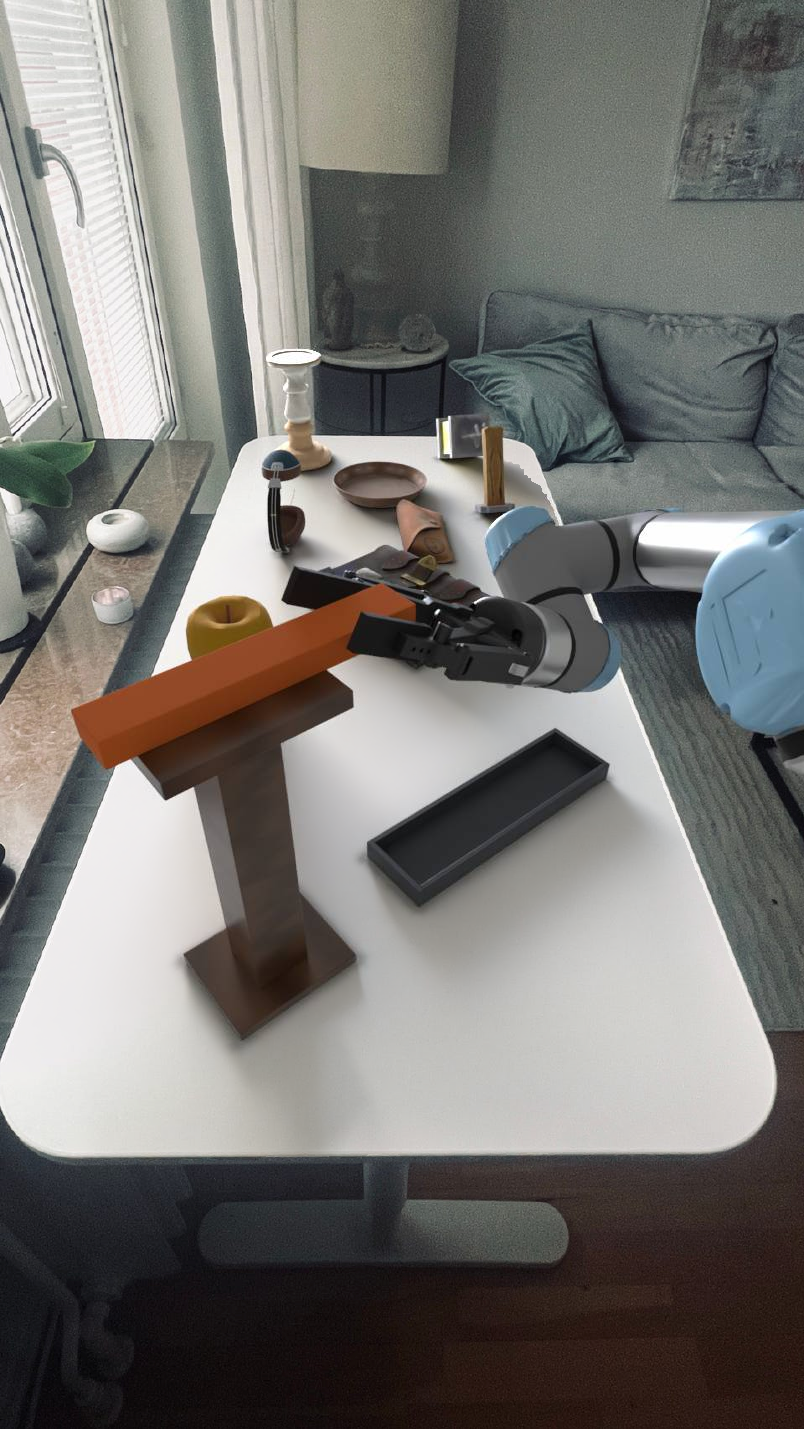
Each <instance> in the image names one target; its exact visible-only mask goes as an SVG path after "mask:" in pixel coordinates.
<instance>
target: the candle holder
mask: <svg viewBox="0 0 804 1429" xmlns="http://www.w3.org/2000/svg"><path fill="white" fill-rule="evenodd" d="M265 361H266V364H267V365H268V366H269V367H271V368H274V369H277V370H281V372H282V373H283V374H284V376H285V378H286V383H285V384H284V385H283V387H282V390H283V391H284V392H285V393H286V403H285V407H284V414H283V415H284V417H285V419H286V420H288V421H287V422H286V424H285V425H284V430H285V431H286V432H287V433H288V441H286V442H283V444H281V445H280V446H279V447H277V448H276V449H274V451H275V450H279V449H283V450H287V451H289V452H291V453H292V454H293V455H294V456H295V457H296V458H297V459H298V460H299V462H300V465H301V472H302V471H311V470H317V469H320V468H323V467H325V466H326V465H328V464H329V463H330V462H331V460H332V451H331V450H330V448H329V447H327V446H325V445H323V444H321V443H320V442H319V441H315V440H313V438H312V432H313V430H314V428H315V425H314V423H313V422H312V421H311V420H310V419H311V417H312V416H313V411H312V408H311V405H310V403H309V397H308V395H307V392H308V391H309V390H310V386H309V384H307V383H306V381H305V376H306V373H307V372H308V371H309V369H310V368H314V367H316V366H319V364H321V362H322V355H321V353H319V352H316V351H313V350H311V349H302V348H301V349H300V348H299V349H298V348H295V349H294V348H291V349H282V350H281V349H280V350H276V351H273V352H271V353H269V354H268V355H267V356H266V359H265Z"/></svg>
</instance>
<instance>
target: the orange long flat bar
mask: <svg viewBox="0 0 804 1429" xmlns="http://www.w3.org/2000/svg"><path fill="white" fill-rule="evenodd" d="M361 611H362V612H368V613H373V614H378V615H383V616H388V617H393V618H399V619H404V620H409V621H414V622H415V617H416V604H415V603H413V602H411V601H410V600H408V599H407V598H405V597H403V596H402V595H400V594H399V593H397V592H395V591H394V590H392V589H391V588H389V587H388V586H386V585H384V584H383V583H380V584H378V585H375V586H373V587H370V588H368V589H366V590H363V591H361V592H358V593H356V594H353V595H351V596H348V597H346V598H343V599H341V600H338V601H336V602H334V603H331V604H329V605H326V606H324V607H321V608H319V609H316V610H314V609H313V610H311V611H309V612H307V613H304V614H302V615H299V616H297V617H294V618H291V619H289V620H287V621H284V622H282V623H280V624H277V625H275V626H273V627H272V628H270V629H267V630H265V631H262V632H260V633H257V634H255V635H253V636H250V637H248V638H245V639H243V640H240V641H238V642H235V643H233V644H230V645H228V646H225V647H223V648H221V649H218V650H216V651H213V652H211V653H208V654H206V655H203V656H201V657H198V658H196V659H194V660H191V659H190V660H189V661H187V662H184V663H181V664H179V665H176V666H174V667H171V668H169V669H167V670H164V671H162V672H159V673H157V674H153V675H152V676H150V677H147V678H144V679H142V680H140V681H137V682H134V683H131V684H129V685H127V686H124V687H122V688H120V689H118V690H115V691H113V692H110V693H108V694H106V695H103V696H100V697H98V698H96V699H93V700H90V701H88V702H85V703H83V704H81V705H78V706H76V707H74V708H71V709H70V712H71V715H72V718H73V722H74V724H75V727H76V730H77V734H78V736H79V738H80V739H81V741H82V742H83V743H84V744H85V746H86V747H87V748H88V749H89V750H90V752H91V753H92V754H93V756H94V757H95V758H96V760H97V762H99V763H100V765H101V766H102V767H103V769H104V770H105V771H108V770H110V769H112V768H114V767H117V766H119V765H121V764H123V763H126V762H128V761H130V760H131V759H132V758H134V757H136V756H139V755H141V754H143V753H145V752H147V751H150V750H152V749H154V748H156V747H158V746H161V745H163V744H165V743H167V742H169V741H172V740H174V739H176V738H178V737H180V736H182V735H185V734H187V733H189V732H191V731H193V730H196V729H198V728H200V727H202V726H204V725H207V724H209V723H211V722H213V721H215V720H218V719H220V718H222V717H224V716H226V715H228V714H231V713H233V712H235V711H237V710H239V709H242V708H244V707H246V706H248V705H250V704H253V703H255V702H257V701H259V700H261V699H264V698H266V697H268V696H270V695H272V694H275V693H277V692H279V691H281V690H283V689H285V688H288V687H290V686H292V685H294V684H296V683H299V682H301V681H303V680H305V679H307V678H310V677H312V676H314V675H316V674H318V673H321V672H323V671H325V670H329V669H332V668H333V667H336V666H338V665H341V664H342V663H344V662H347V661H349V660H351V659H353V658H355V657H358V656H361V654H354V653H352V652H350V651H349V650H348V649H346V647H347V645H348V642H349V640H350V637H351V635H352V632H353V630H354V627H355V625H356V623H357V620H358V618H359V615H360V613H361Z"/></svg>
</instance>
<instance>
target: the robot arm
mask: <svg viewBox="0 0 804 1429" xmlns="http://www.w3.org/2000/svg"><path fill="white" fill-rule="evenodd" d="M484 546H485V549H486V555H487V558H488V561H489V565H490V567H491V572H492V575H493V577H494V578H495V580H496V583H497V585H498V587H499V590H500V593H501V594H502V596H499V595H498V596H497V595H490V596H489V597H484V598H481V599H479V600H477V601H475V602H474V603H472V604H471V605H470V606H468V607H467V606H464V605H461V604H458V603H453V604H449V603H446V602H443V601H441V600H438V599H435V598H432V597H431V594H430V593H428V591H426V590H418V589H411V588H407V587H404V586H400V585H397V584H393V583H389V582H386V581H382V580H379V579H375V578H372V577H368V576H365V575H361V574H358V573H355V572H353V571H348V570H345V572H344V575H343V577H341V576H336V575H332V574H328V573H324V572H319V570H315V569H311V568H306V567H303V566H298V565H293V568H292V570H291V572H290V575H289V577H288V581H287V583H286V586H285V589H284V591H283V594H282V597H281V599H280V601H281V602H283V603H284V604H286V605H287V606H292V607H297V608H298V607H299V608H305V609H309V610H313V611H314V610H316V609H319V608H321V607H324V606H326V605H329V604H331V603H334V602H336V601H338V600H341V599H343V598H346V597H348V596H351V595H353V594H356V593H358V592H361V591H363V590H366V589H368V588H370V587H373V586H375V585H378V584H380V583H383V584H384V585H386V586H388V587H389V588H391V589H392V590H394V591H395V592H397V593H399V594H400V595H402V596H403V597H405V598H407V599H408V600H410V601H411V602H413V603H415V604H416V617H415V622H414V621H409V620H404V619H399V618H393V617H388V616H383V615H378V614H373V613H368V612H362V611H361V613H360V615H359V618H358V620H357V623H356V625H355V627H354V630H353V632H352V635H351V637H350V640H349V642H348V645H347V647H346V649H348V650H349V651H350V652H352V653H354V654H360V656H361V655H362V656H369V657H375V658H376V657H377V658H384V659H392V660H398V661H404V660H406V661H413V662H417V661H418V660H422V661H421V662H422V663H423V664H424V666H425V667H427V668H428V669H439V668H444V672H443V675H444V676H445V677H446V678H447V679H448V680H450V681H456V682H481V683H489V684H497V685H504V686H505V688H507V689H510V690H512V689H514V688H515V686H519V687H527V688H535V689H537V688H539V689H546V690H550V691H551V690H552V691H556V692H561V693H563V694H572V693H573V694H577V693H593V692H596V691H599V690H602V689H603V688H604V687H606V686H607V685H609V684H610V682H612V681H613V679H615V676H616V675H617V674H618V671H619V670H620V666H621V663H622V646H621V642H620V640H619V637H618V636H617V634H616V633H615V632H614V631H613V630H612V629H611V628H610V627H608V626H607V625H605V624H603V623H602V622H599V620H598V619H597V620H596V619H595V618H594V617H593V614H592V611H591V610H590V607H589V604H588V602H587V599H586V597H585V595H590V594H596V593H602V592H607V591H610V590H611V591H612V590H617V589H623V588H628V587H635V586H636V587H639V586H642V587H648V588H649V587H651V588H658V589H670V590H676V591H677V590H678V591H684V592H690V593H691V592H692V593H700V594H701V599H700V601H699V602H698V604H697V609H696V620H695V647H696V654H697V660H698V665H699V669H700V672H701V675H702V679H703V682H704V684H705V686H706V688H707V690H708V691H707V692H708V693H709V694H710V697H711V698H712V701H714V703H715V704H716V706H717V707H718V708H719V709H720V711H722V713H726V714H730V720H731V721H732V722H733V723H734V724H736V725H738V726H739V727H740V728H742V729H745V730H748V731H750V732H754V733H759V734H762V735H767V736H772V738H773V740H774V743H775V744H776V747H777V750H778V753H779V755H780V758H781V760H782V763H783V765H784V768H786V769H787V770H790V771H791V772H793V773H796V774H798V775H800V776H801V777H804V507H803V508H800V509H798V510H753V511H752V510H751V511H750V510H749V511H746V510H744V511H743V510H741V511H685V510H683V509H681V508H677V507H672V508H671V507H670V508H652V509H646V510H643V511H642V512H636V513H631V514H625V515H624V514H623V515H619V516H613V517H609V518H604V519H595V520H586V521H579V522H573V523H568V524H561V525H556V521H555V519H554V518H553V517H552V516H551V513H550V512H549V511H548V509H546V508H545V507H543V506H536V505H534V504H531V505H523V506H518V507H515V509H513V510H511V511H506V512H505V513H503V514H502V515H501V516H499V517H498V518H496V519H495V520H494V521H493V522H492V523H491V525H490V526H489V527H488V529H487V531H486V534H485V536H484ZM406 661H405V662H406Z"/></svg>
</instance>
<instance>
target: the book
mask: <svg viewBox="0 0 804 1429" xmlns="http://www.w3.org/2000/svg"><path fill="white" fill-rule="evenodd" d="M345 570H348V571H353V572H355V573H358V574H361V575H365V576H368V577H372V578H375V579H379V580H382V581H386V582H389V583H393V584H397V585H400V586H404V587H407V588H411V589H418V590H426V591H428V593H430V594H431V597H432V598H435V599H438V600H441V601H443V602H446V603H449V604H453V603H458V604H461V605H464V606H467V607H468V606H470V605H471V604H472V603H474V602H475V601H477V600H479V599H481V598H484V597H489V596H491V595H490V594H489V593H486V592H484V591H482V589H481V588H480V587H479V586H478V585H476V584H474V583H472V582H470V581H467V580H466V579H463V578H456V577H454V576H452V575H451V573H450V571H447V570H445V569H444V568H441V567H439V566H438V564H437V563H436V560H435V557H433V556H431V555H429V556H426V557H424V558H422V559H421V558H419V557H417V556H415V555H413V554H411V553H409V552H407V551H404V549H401V550H400V549H397V548H395V547H393V546H391V545H390V544H382V545H380V546H378V547H376V549H375V550H373V551H372V552H368V553H366V554H364V555H362V556H359V557H357V558H355V559H353V560H351V561H348V562H345V563H344V564H341V565H339V566H335V567H333V568H332V567H331V566H327V567H324V568H322V569H318V571H319V572H324V573H328V574H332V575H336V576H341V577H343V575H344V572H345ZM403 661H404V662H405V663H407V664H408V665H409V666H411V667H413V668H414V669H415V670H418V669H419V668H421V667H422V666H425V664H423V663H422V662H421V661H422V660H418V661H417V662H413V661H406V660H403Z"/></svg>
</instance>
